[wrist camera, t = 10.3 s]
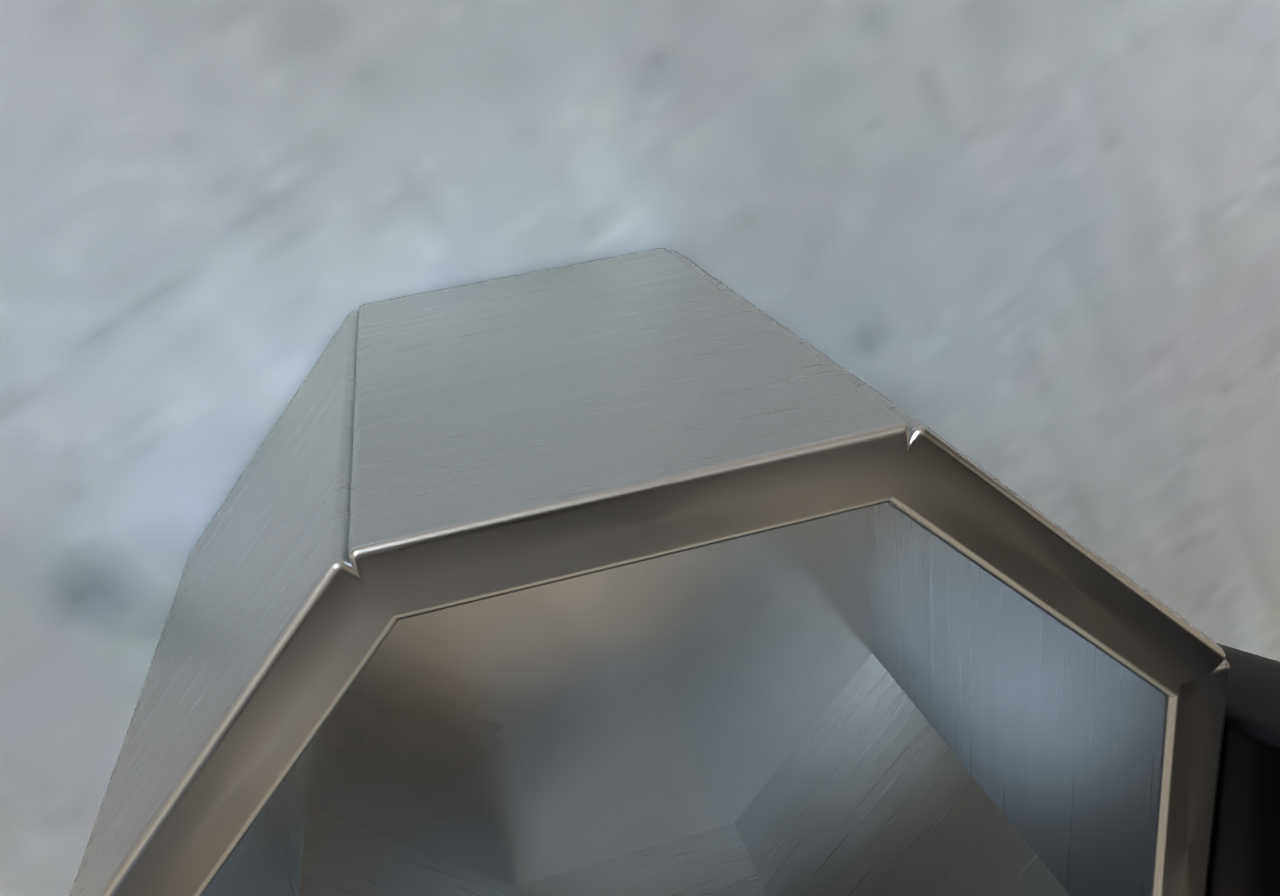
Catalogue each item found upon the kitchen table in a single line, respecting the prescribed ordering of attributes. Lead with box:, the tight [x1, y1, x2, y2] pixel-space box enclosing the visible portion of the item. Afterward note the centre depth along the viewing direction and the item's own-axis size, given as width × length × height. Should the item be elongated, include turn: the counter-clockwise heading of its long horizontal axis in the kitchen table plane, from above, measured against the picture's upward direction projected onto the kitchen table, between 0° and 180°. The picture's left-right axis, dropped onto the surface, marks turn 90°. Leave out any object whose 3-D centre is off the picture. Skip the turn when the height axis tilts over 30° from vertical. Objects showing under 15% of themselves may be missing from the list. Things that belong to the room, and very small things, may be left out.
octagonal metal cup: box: [69, 248, 1231, 896], centre depth 8 cm, size 6×6×4 cm
